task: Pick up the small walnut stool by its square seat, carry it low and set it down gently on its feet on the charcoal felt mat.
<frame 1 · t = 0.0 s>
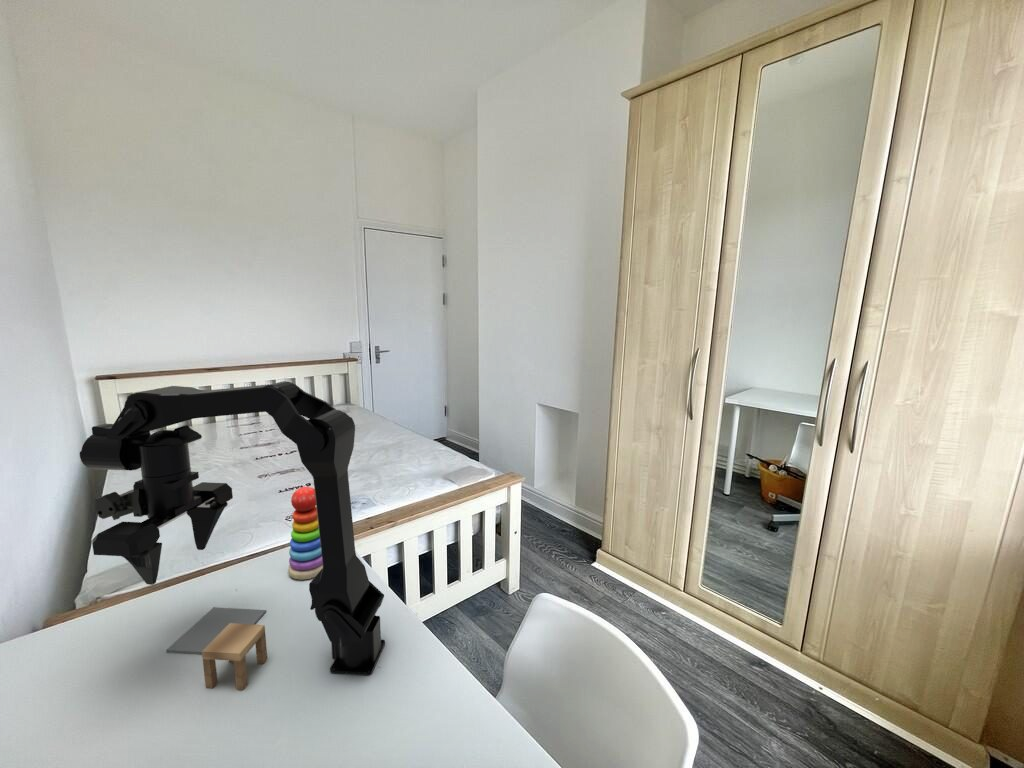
hand: (177, 565, 65), 15 cm above the table, fingers open, 9 cm apart
mat: (219, 630, 71), on the table
stacking toy: (309, 570, 89), on the table
stool: (237, 672, 63), on the table
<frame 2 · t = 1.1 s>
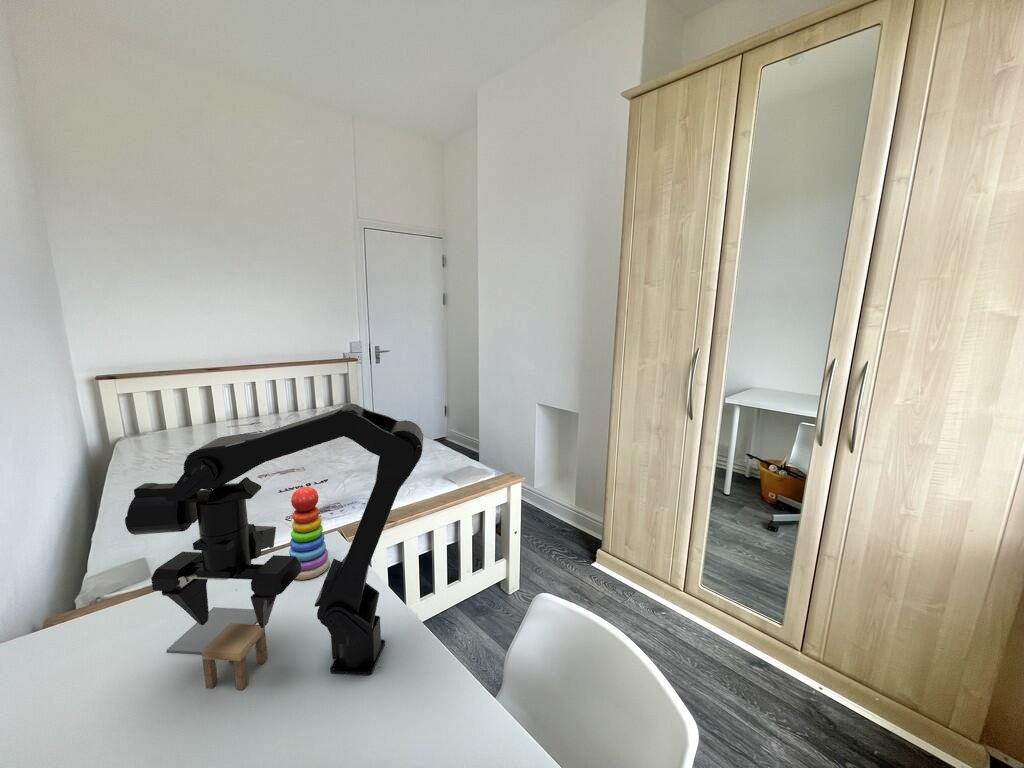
hand: (234, 624, 62), 8 cm above the table, fingers open, 9 cm apart
nothing on the table moved.
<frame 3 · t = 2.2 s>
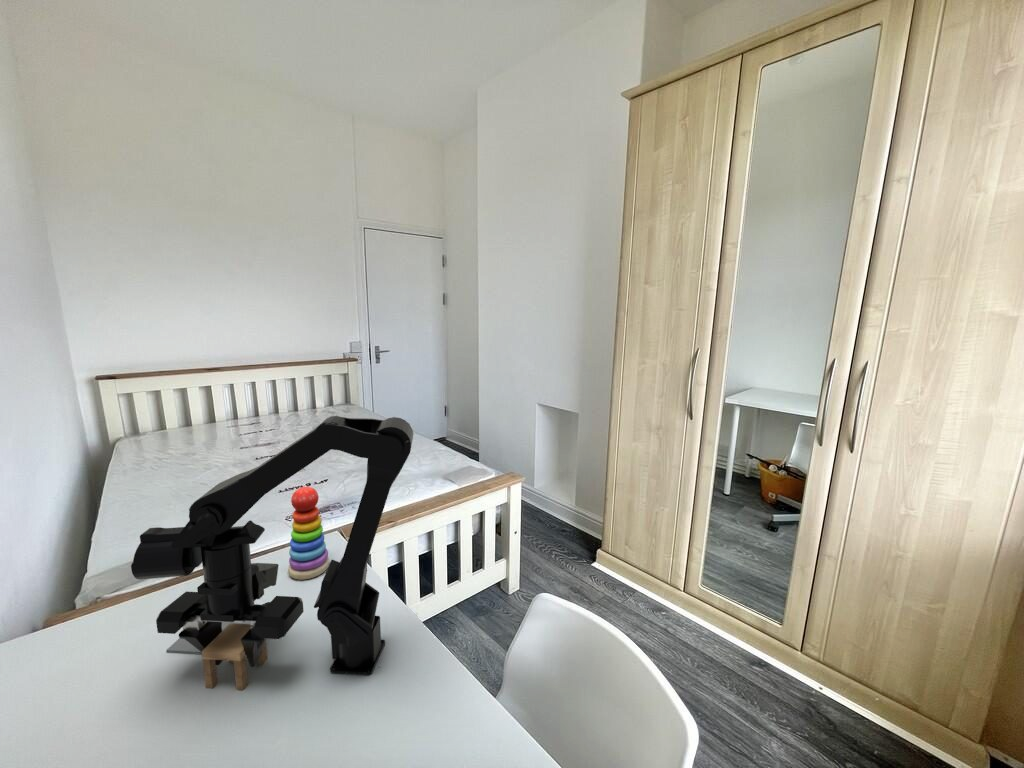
hand: (237, 664, 63), 2 cm above the table, fingers closed on stool, 5 cm apart
stool: (237, 672, 63), on the table, touching gripper
everything else where it was.
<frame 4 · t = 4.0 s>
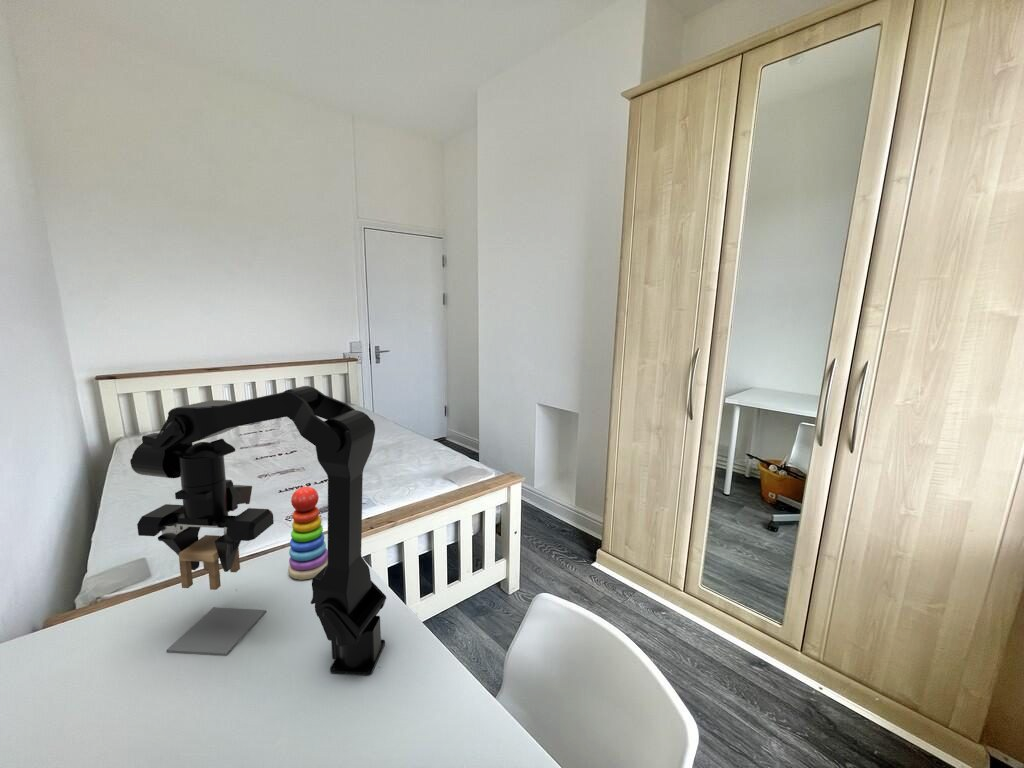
hand: (211, 569, 69), 12 cm above the table, fingers closed on stool, 5 cm apart
stool: (212, 578, 69), point 10 cm above the table, touching gripper
everything else where it was.
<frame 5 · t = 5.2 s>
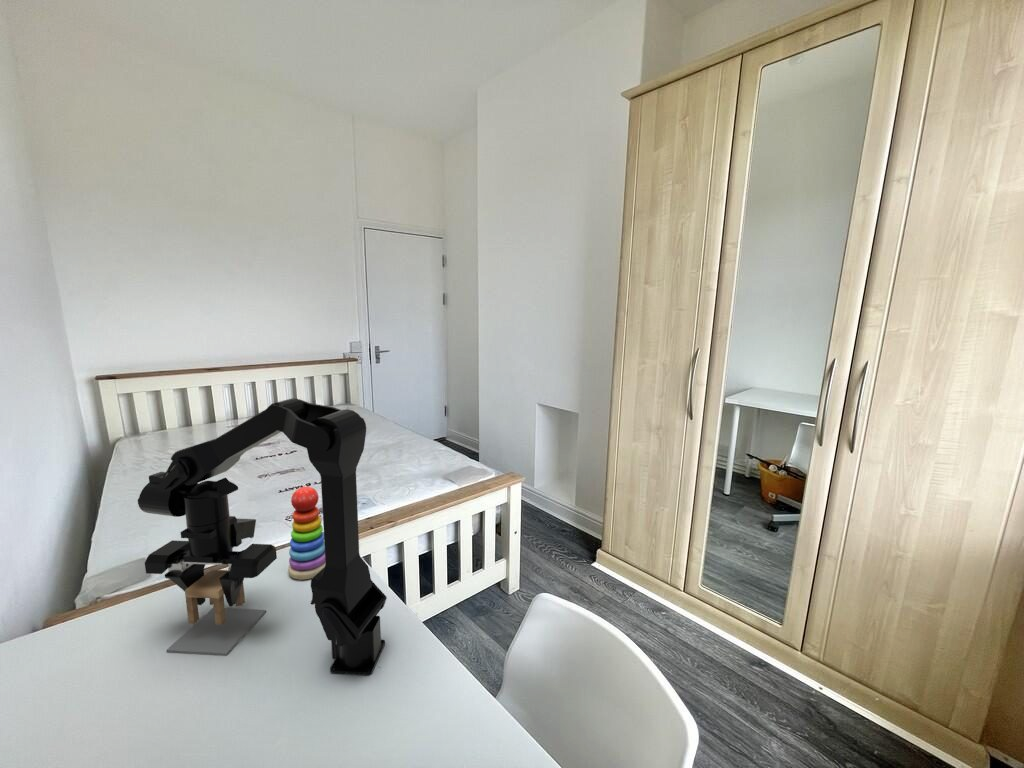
hand: (217, 604, 70), 5 cm above the table, fingers closed on stool, 5 cm apart
stool: (217, 612, 70), point 4 cm above the table, touching gripper
everything else where it was.
when the fingers open (3 cm above the table, at t = 6.1 s): stool stays where it is, resting on mat.
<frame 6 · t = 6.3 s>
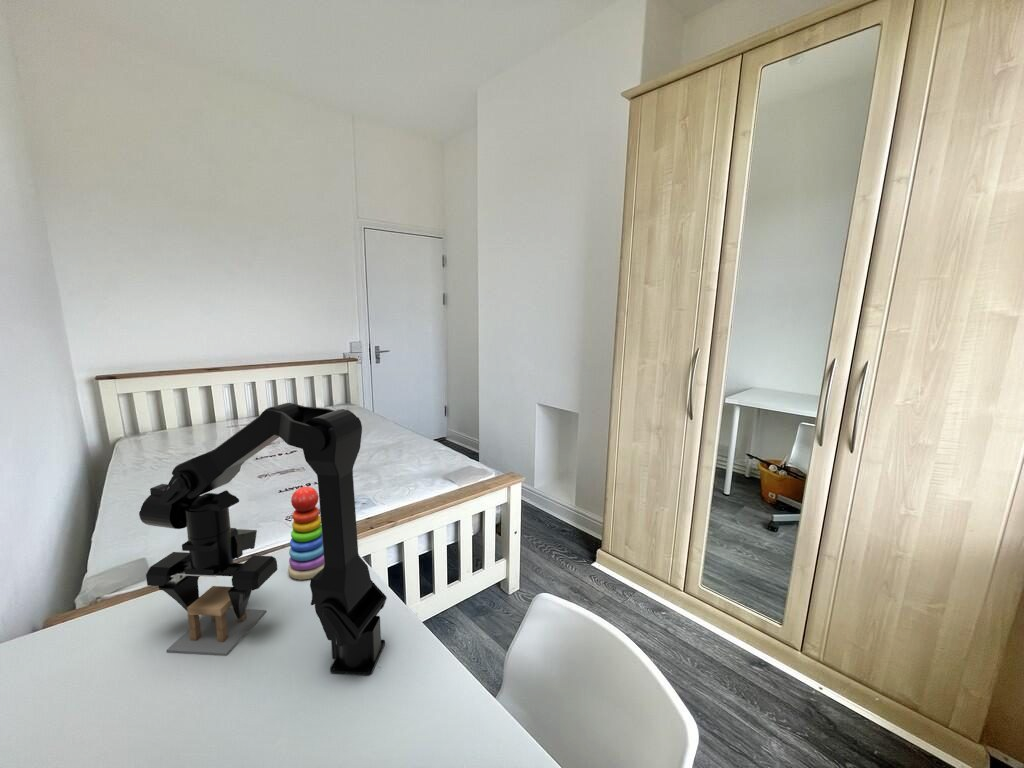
hand: (218, 615, 71), 3 cm above the table, fingers open, 8 cm apart
stool: (219, 628, 71), resting on mat
everything else where it was.
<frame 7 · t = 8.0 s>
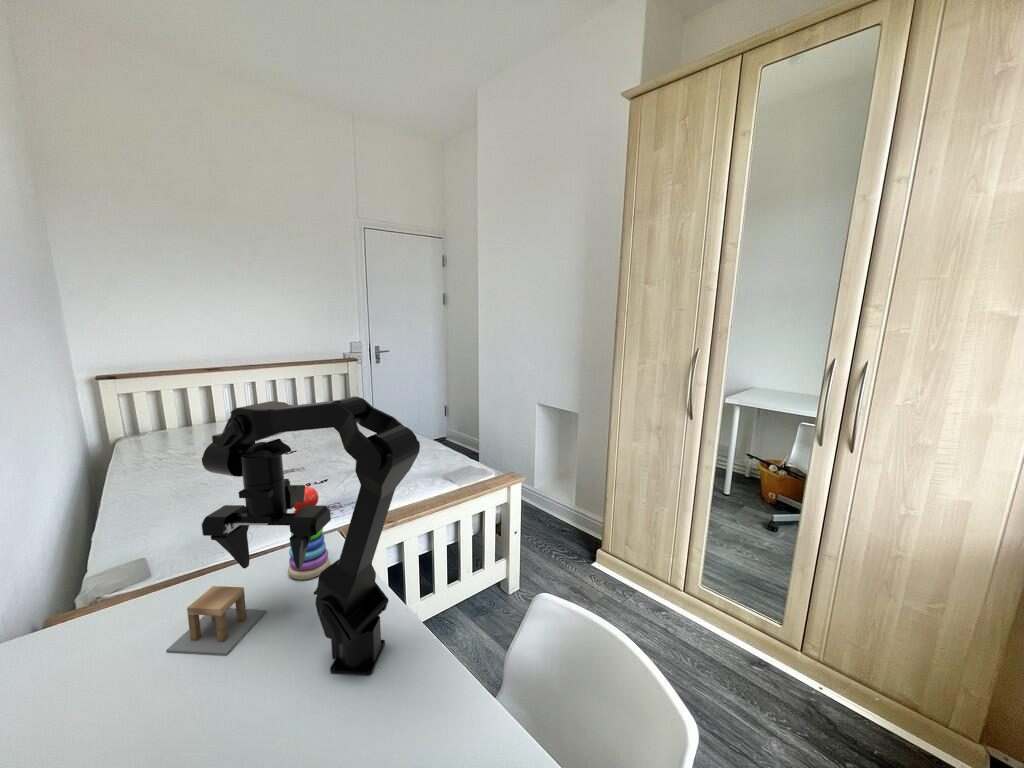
hand: (272, 567, 70), 12 cm above the table, fingers open, 9 cm apart
nothing on the table moved.
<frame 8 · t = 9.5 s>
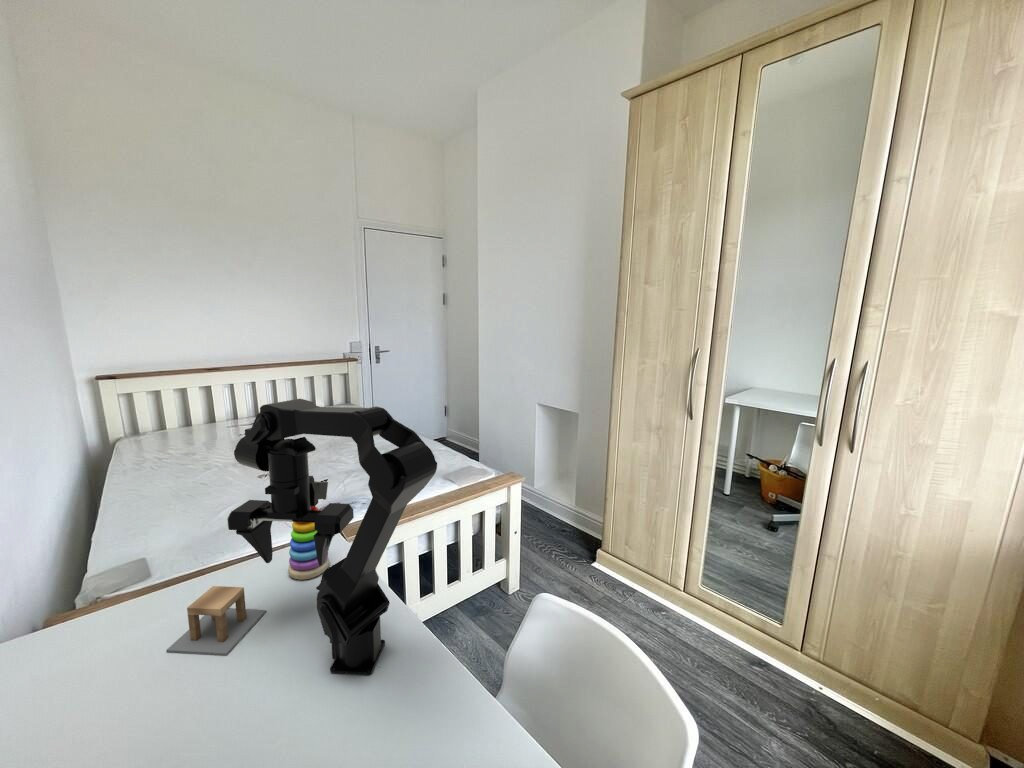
hand: (295, 563, 71), 12 cm above the table, fingers open, 9 cm apart
nothing on the table moved.
at the end: stool inside the target area on the mat (0.1 cm from its centre), point 0.4 cm above the mat's base; stool tilted 0°; the gripper is holding nothing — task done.
